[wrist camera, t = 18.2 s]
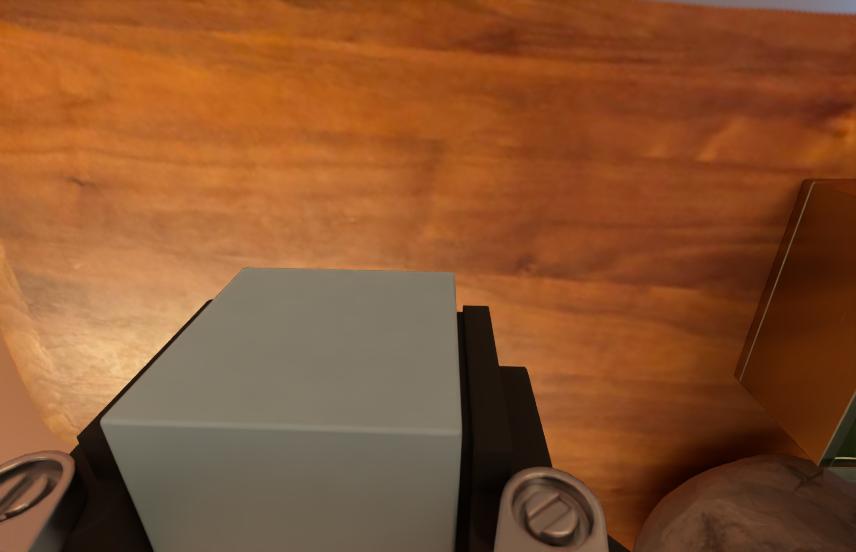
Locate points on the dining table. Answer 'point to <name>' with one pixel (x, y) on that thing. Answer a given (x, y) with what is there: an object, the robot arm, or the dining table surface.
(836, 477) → the lid
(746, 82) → the dining table surface
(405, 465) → the block
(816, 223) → the compartment
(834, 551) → the bowl
